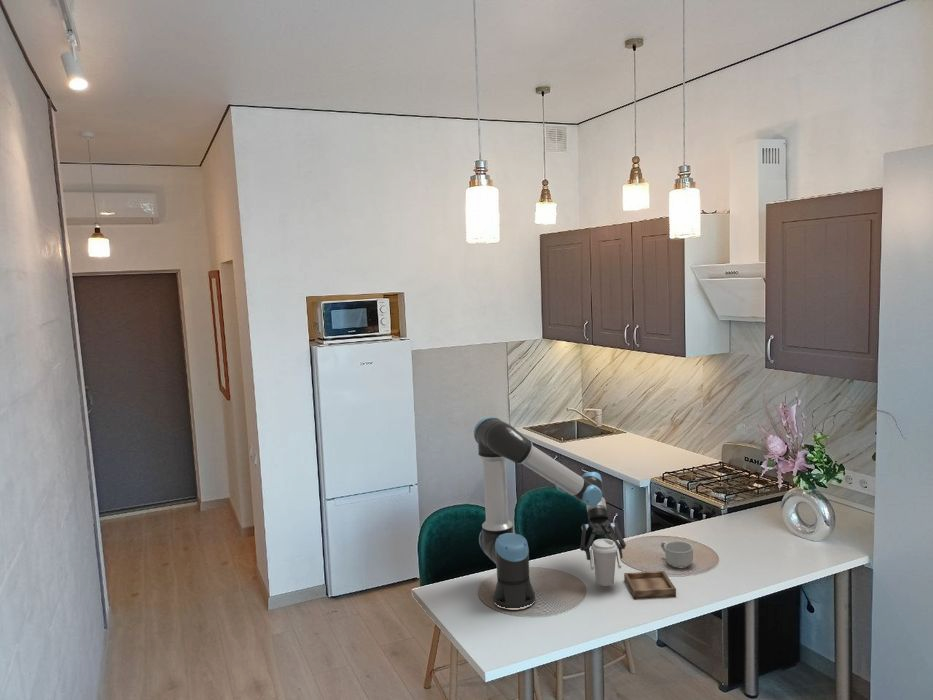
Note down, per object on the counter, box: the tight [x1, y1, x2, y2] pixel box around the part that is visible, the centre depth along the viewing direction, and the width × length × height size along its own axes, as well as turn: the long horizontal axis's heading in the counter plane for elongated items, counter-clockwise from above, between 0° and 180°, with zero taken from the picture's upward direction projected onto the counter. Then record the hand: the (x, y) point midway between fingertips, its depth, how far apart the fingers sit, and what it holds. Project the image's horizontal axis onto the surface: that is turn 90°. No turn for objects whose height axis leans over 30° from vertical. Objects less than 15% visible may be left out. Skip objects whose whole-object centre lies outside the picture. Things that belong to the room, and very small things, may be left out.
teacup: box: [660, 540, 694, 568], centre depth 274 cm, size 14×11×8 cm
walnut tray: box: [623, 570, 677, 600], centre depth 254 cm, size 15×15×3 cm
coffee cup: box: [590, 538, 618, 587], centre depth 256 cm, size 10×10×15 cm
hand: (606, 567), depth 253 cm, fingers closed on coffee cup, 9 cm apart
